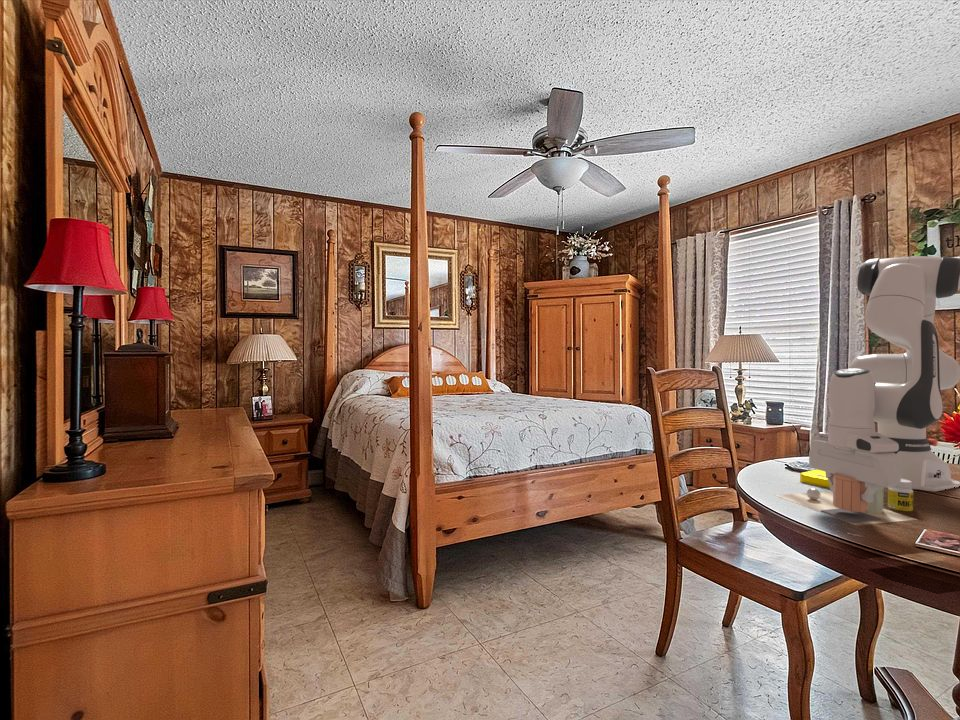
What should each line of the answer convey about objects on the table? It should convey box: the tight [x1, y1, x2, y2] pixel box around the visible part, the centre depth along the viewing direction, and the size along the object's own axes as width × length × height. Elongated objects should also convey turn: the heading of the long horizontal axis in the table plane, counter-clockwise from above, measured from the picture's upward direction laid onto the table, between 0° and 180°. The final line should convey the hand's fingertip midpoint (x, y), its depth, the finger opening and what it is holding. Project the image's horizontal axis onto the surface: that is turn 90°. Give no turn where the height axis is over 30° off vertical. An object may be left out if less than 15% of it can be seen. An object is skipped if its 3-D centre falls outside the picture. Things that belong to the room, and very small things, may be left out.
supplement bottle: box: [887, 479, 914, 512], centre depth 121 cm, size 5×5×8 cm
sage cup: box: [865, 486, 885, 514], centre depth 120 cm, size 6×6×8 cm
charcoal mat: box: [820, 509, 881, 524], centre depth 116 cm, size 8×8×1 cm
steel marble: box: [806, 487, 821, 500], centre depth 128 cm, size 3×3×3 cm
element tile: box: [799, 469, 830, 489], centre depth 143 cm, size 15×15×5 cm
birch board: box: [775, 490, 919, 526], centre depth 122 cm, size 17×23×2 cm
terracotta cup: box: [832, 473, 868, 512], centre depth 115 cm, size 6×6×8 cm
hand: (850, 496), depth 115 cm, fingers closed on terracotta cup, 6 cm apart
